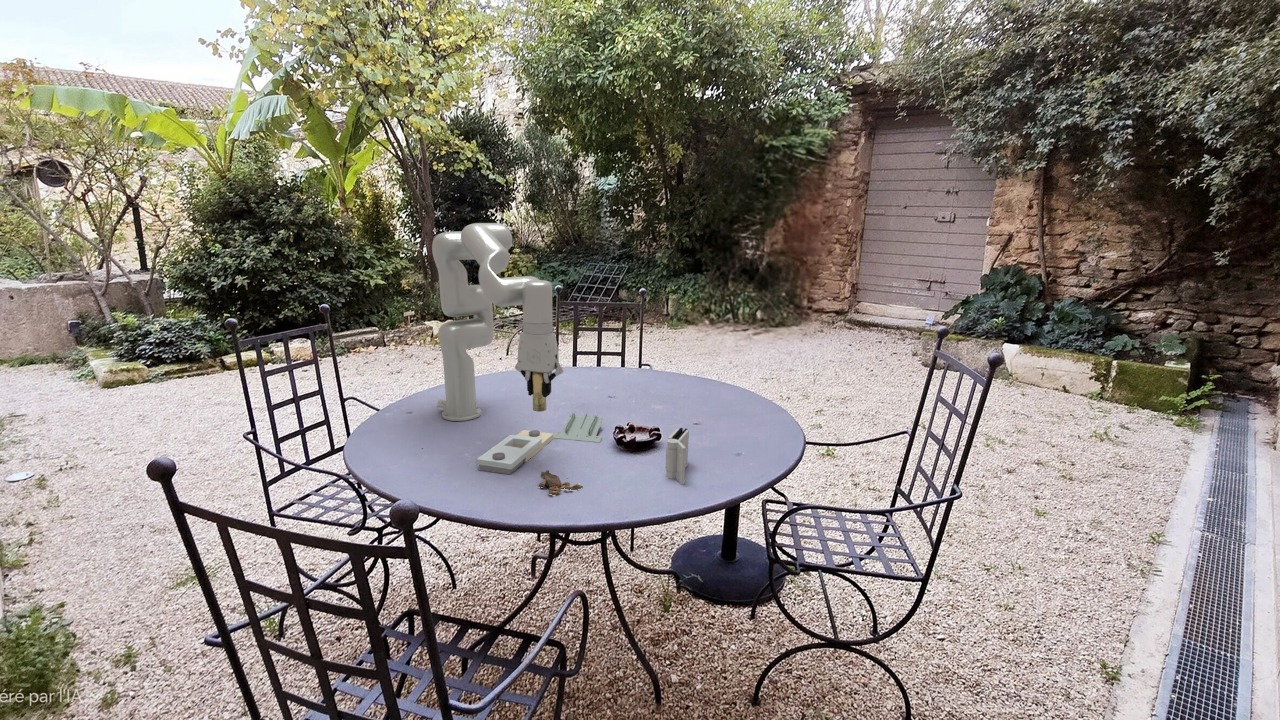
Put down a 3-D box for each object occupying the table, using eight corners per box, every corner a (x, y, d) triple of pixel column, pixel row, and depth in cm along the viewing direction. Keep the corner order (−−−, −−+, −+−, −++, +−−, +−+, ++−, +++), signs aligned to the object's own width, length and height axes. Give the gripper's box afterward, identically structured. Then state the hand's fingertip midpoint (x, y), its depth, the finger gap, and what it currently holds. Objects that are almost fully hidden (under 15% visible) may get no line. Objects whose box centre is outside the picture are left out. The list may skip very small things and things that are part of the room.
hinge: (684, 485, 148) (685, 448, 146) (663, 483, 149) (664, 446, 146) (688, 462, 162) (689, 428, 159) (668, 460, 162) (669, 426, 160)
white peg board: (511, 474, 152) (511, 461, 151) (477, 469, 155) (476, 456, 154) (553, 438, 176) (553, 426, 175) (523, 434, 179) (522, 422, 178)
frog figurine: (522, 492, 144) (521, 477, 143) (556, 475, 153) (556, 461, 153) (556, 506, 138) (555, 491, 137) (589, 487, 147) (589, 473, 146)
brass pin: (530, 410, 157) (529, 367, 154) (536, 406, 161) (535, 364, 158) (542, 412, 156) (542, 369, 153) (548, 407, 160) (547, 365, 157)
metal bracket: (563, 408, 186) (609, 412, 184) (565, 422, 189) (610, 426, 187) (549, 436, 174) (598, 440, 172) (551, 451, 177) (599, 456, 175)
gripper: (502, 328, 151) (504, 395, 156) (561, 333, 147) (562, 402, 152) (515, 322, 158) (517, 387, 163) (573, 327, 154) (573, 394, 159)
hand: (539, 394), depth 158 cm, fingers closed on brass pin, 3 cm apart
